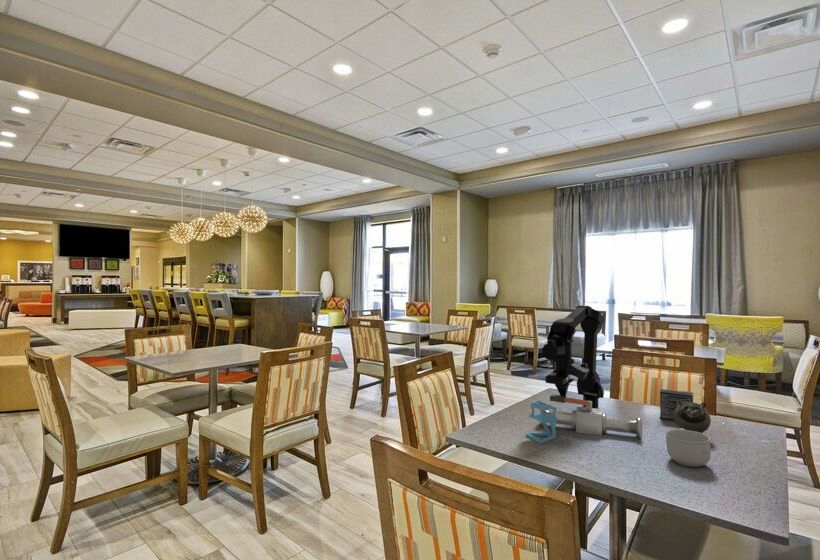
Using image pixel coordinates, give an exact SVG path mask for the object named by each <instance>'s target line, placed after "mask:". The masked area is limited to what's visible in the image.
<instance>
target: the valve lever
mask: <svg viewBox="0 0 820 560" xmlns="http://www.w3.org/2000/svg"><path fill="white" fill-rule="evenodd" d="M549 401H550V402H556V403H563V404H564V403H568V404H573V405H574V404H575V405H579V406H583V405H586V410H592V401H586V400H583V399H578V398H571V397H567V395H566V396H560V394H554V393H553V394H550V395H549Z"/></svg>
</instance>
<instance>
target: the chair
mask: <svg viewBox="0 0 820 560" xmlns="http://www.w3.org/2000/svg"><path fill="white" fill-rule="evenodd" d="M529 405H530V409H531V413H529V414H528V418H531V419H534V420H535V421H537V422H539V423H540V422H541V423H542V424H543V425H542V426H543V428H544V430H545V432H525V436H526V437H527V438H528V439H531V440H533V441H535V442H537V443H539V444H544V443H547V442H550V441H552V440H554V439H557V434H556V433H557V432H556V429H557V428H556V426H557V424H556V422H557V421H558V418H556V417H555V412H556V411H557V409H558V407H557V406H555V407H554V406H553V405H551V404H549V403H548V404H547V402H543V401H541V400H535V401H533V402H531V403H530V404H529ZM534 408H535V409H537V410H539V413H535V409H534ZM546 410H552V411H553V414H552V416H551V415H549V414H547V413H546ZM540 411H541V413H540ZM547 424H549V425H550V426H551V431H550V429H549V426H548V425H547ZM538 437H544V438H542V439H541V438H538Z"/></svg>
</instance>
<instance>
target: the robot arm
mask: <svg viewBox="0 0 820 560" xmlns="http://www.w3.org/2000/svg"><path fill="white" fill-rule="evenodd" d="M604 320H605V319H604V315H602V313H601V312H599V311H598V310H596V309H594V308H593V307H592V306H590V305H581V304H580V305H576V306H575V309H574V310H573V311H572V312H570V313H569V314H568V315H567V316H566V317H564V318H557V319H556V320H555V321H553V323H552V324H551V325H550V329H549V332H548V334H547V338H546V340H547V341H546V343H545V344H544V345H543V347H542V349H541V352H542V353H541V354H542V355H543V357H544V358H545V360H547V361H552V363H554V369H553V370H552V373H549V374H547V375H546V376H545V378H544V379H545V384H550V385H554V386H555V387H556V389H557V391H558V393H559V394H558V395H560V396H566V397H567V393H568V389H569V387H570V384H571V383H573V382H574V381H575V379H574V378H571V376H573V377H576V378H577V381H576V389H577V394H578V395H579V396H580V395H582V400H586V401H592V408H595V409H600V408H599V399H603V398H604V396H605V390H604V388H603V386H602V384H601V378H600V376H599V374H598V372H597V356H598V355H597V353H598V352H597V349H598V334H599V333H600V332H601V330H602V329H603V324H604V322H605V321H604ZM579 325H580V328H581V330H582V332H583V333H584V339H583V341H584V342H583V359H582V360H583V361H582V362H583V363H581V364H578V363H575V359H574V358H572V355H573V353H572V344H573V343H574V340H573V338H574V335H575V334H576V332H577V331H576V328H577V327H578V326H579ZM582 407H586V405H582Z"/></svg>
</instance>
